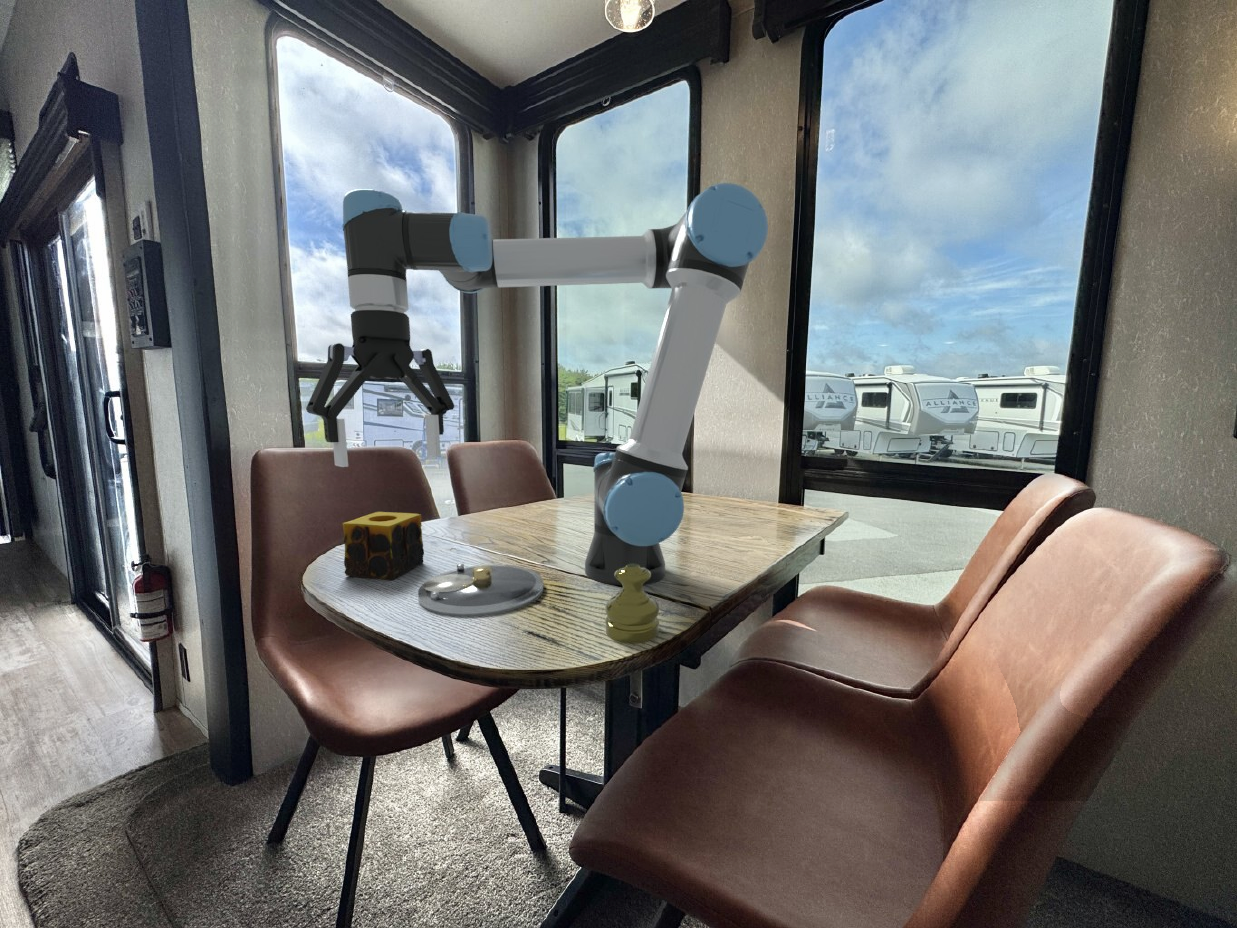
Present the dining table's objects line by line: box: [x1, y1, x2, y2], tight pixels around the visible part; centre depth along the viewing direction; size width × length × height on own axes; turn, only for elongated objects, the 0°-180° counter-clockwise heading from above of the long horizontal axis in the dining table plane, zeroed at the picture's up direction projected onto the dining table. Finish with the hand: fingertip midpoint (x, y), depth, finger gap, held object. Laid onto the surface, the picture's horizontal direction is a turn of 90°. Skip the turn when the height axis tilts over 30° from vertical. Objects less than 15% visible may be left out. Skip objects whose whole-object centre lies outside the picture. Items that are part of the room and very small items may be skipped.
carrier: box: [417, 563, 544, 617], centre depth 84 cm, size 20×20×4 cm
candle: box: [342, 511, 425, 581], centre depth 95 cm, size 10×10×10 cm
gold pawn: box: [604, 563, 660, 644], centre depth 69 cm, size 7×7×10 cm
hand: (390, 461), depth 75 cm, fingers open, 13 cm apart
